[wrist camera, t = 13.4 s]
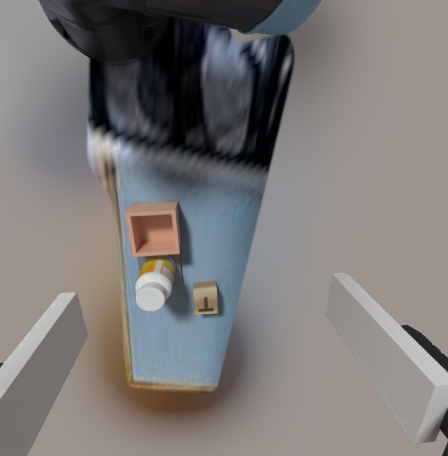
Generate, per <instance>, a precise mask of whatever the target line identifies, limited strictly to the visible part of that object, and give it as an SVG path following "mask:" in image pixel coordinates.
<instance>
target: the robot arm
mask: <svg viewBox="0 0 448 456" xmlns="http://www.w3.org/2000/svg"><path fill="white" fill-rule="evenodd" d="M39 2H40V4H41V6H42V8H43V10H44V12H45V14H46V16H47V18H48V19H49V21H50V22H51V24H52V25H53V27H54V28H55V29H56V30H57V32H58V33H59V34H60V35H61V36H62V37H63V38H64V39H65V40H66V41H67V42H68V43H69V44H70V45H71V46H73V47H74V48H75V49H77V50H78V51H80V52H81V53H83V54H84V55H86V56H87V57H89V58H91V59H93V60H95V61H98V62H101V63H104V64H109V65H128V64H132V63H135V62H138V61H140V60H142V59H143V58H145V57H147V56H148V55H149V54H150V53H151V52H152V51H154V49H155V48H156V47H157V46H158V45H159V43H160V42H161V40H162V38H163V36H164V34H165V32H166V29H167V26H168V23H169V18H175V19H180V20H186V21H191V22H197V23H202V24H208V25H214V26H219V27H225V28H230V29H236V30H238V31H239V32H240V33H242V34H254V33H262V34H270V35H282V34H286V33H289V32H291V31H294V30H295V29H297V28H298V27H299V26H300V25H302V24H303V23H304V22H305V21H306V20H307V19H308V17H309V16H310V15H311V14H312V13H313V12H314V10H315V9H316V8H317V6H318V5H319V3H320V2H321V0H39ZM326 315H327V317H328V319H329V320H330V322H331V323H332V324H333V326H334V327H335V329H336V330H337V332H338V333H339V335H340V336H341V338H342V339H343V341H344V342H345V343H346V345H347V346H348V348H349V349H350V351H351V352H352V354H353V355H354V357H355V358H356V360H357V361H358V362H359V364H360V365H361V367H362V368H363V370H364V371H365V373H366V374H367V376H368V377H369V379H370V380H371V382H372V383H373V384H374V386H375V387H376V389H377V390H378V392H379V393H380V395H381V396H382V398H383V399H384V401H385V402H386V403H387V405H388V406H389V408H390V409H391V411H392V412H393V414H394V415H395V417H396V418H397V420H398V421H399V422H400V424H401V425H402V427H403V428H404V430H405V431H406V433H407V434H408V436H409V437H410V439H411V440H412V441H413V443H414V444H418V443H426V442H433V441H435V440H436V438H437V435H438V433H439V430H441V431H442V432H443V433H444V435H445V436H446V437H447V439H448V358H447V357H446V356H445V355H444V354H442V353H441V351H440V350H439V349H438V348H437V347H435V346H434V345H432V343H431V342H430V341H429V340H428V339H427V338H426V337H425V336H424V335H422V334H421V333H420V332H418V331H417V330H415V329H413V328H411V327H409V326H408V325H403V326H400V325H399V324H398V323H397V322H396V321H395V320H394V319H393V318H392V317H391V316H390V315H389V314H388V313H387V312H386V311H385V310H384V309H383V308H382V307H380V305H378V303H377V302H375V301H374V300H373V299H372V298H371V297H370V296H369V295H368V294H367V293H366V292H365V291H364V290H363V289H362V288H361V287H360V286H359V285H358V284H357V283H356V282H355V281H354V280H353V279H352V278H351V277H350V276H349V275H348V274H347V273H345V272H344V273H332V279H331V285H330V292H329V300H328V307H327V314H326ZM87 337H88V333H87V329H86V326H85V322H84V318H83V314H82V310H81V307H80V303H79V299H78V295H77V292H70V293H60V294H59V296H58V297H57V298H56V300H55V301H54V302H53V303H52V304H51V306H50V307H49V308H48V309H47V311H46V312H45V313H44V314H43V316H42V317H41V318H40V319H39V320H38V322H37V323H36V324H35V326H34V327H33V328H32V329H31V330H30V332H29V333H28V334H27V335H26V337H25V338H24V339H23V340H22V342H21V343H20V344H19V346H18V347H17V348H16V349H15V350H14V352H13V353H12V354H11V355H10V357H9V358H8V359H7V360H6V362H5V363H0V456H27V455H28V453H29V451H30V449H31V447H32V445H33V443H34V441H35V439H36V437H37V435H38V433H39V431H40V429H41V427H42V425H43V423H44V421H45V419H46V417H47V415H48V414H49V411H50V409H51V408H52V406H53V404H54V402H55V400H56V398H57V396H58V394H59V392H60V390H61V388H62V386H63V384H64V382H65V380H66V378H67V376H68V374H69V372H70V370H71V369H72V367H73V365H74V363H75V361H76V359H77V357H78V355H79V353H80V351H81V349H82V347H83V345H84V343H85V341H86V339H87ZM442 456H448V443H447V445H446V447H445V450H444V452H443V454H442Z"/></svg>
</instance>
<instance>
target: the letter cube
mask: <svg viewBox="0 0 448 456" xmlns="http://www.w3.org/2000/svg"><path fill="white" fill-rule="evenodd" d="M194 311H195V315H199V314H214V313H218V303H217V287H216V281H214V282H197V283H194Z"/></svg>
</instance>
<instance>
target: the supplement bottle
mask: <svg viewBox="0 0 448 456" xmlns="http://www.w3.org/2000/svg"><path fill="white" fill-rule="evenodd" d="M174 274H175V263H174V261H173V260H172V258H170V257H169V256H168V255H155V256H149V257H148V258H147V259H146V261H145V262H144V265H143V267H142V270H141V272H140V275H139V277H138V280H137V282H136V286H135V290H136V293H137V295H136V302H137V305H138V306H139V307H140V308H141V309H143V310H145V311H156V310H159V309H160V308H161V307H162V306H163V305H164V303H165V300H166V299H167V298H168V297H169V296H170V294H171V291H172V286H173V280H174Z"/></svg>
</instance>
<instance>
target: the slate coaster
mask: <svg viewBox="0 0 448 456" xmlns="http://www.w3.org/2000/svg"><path fill="white" fill-rule="evenodd" d="M168 256H169V257H170V258H172V260H173V261H174V263H175V274H174V280H173V284H180V283H182V273H181V263H180V254H170V255H168ZM148 257H149V256H141V257H137V258H138V264H139V270H140V272H141V270H142V267H143V265H144V262H145V261H146V259H147V258H148Z"/></svg>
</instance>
